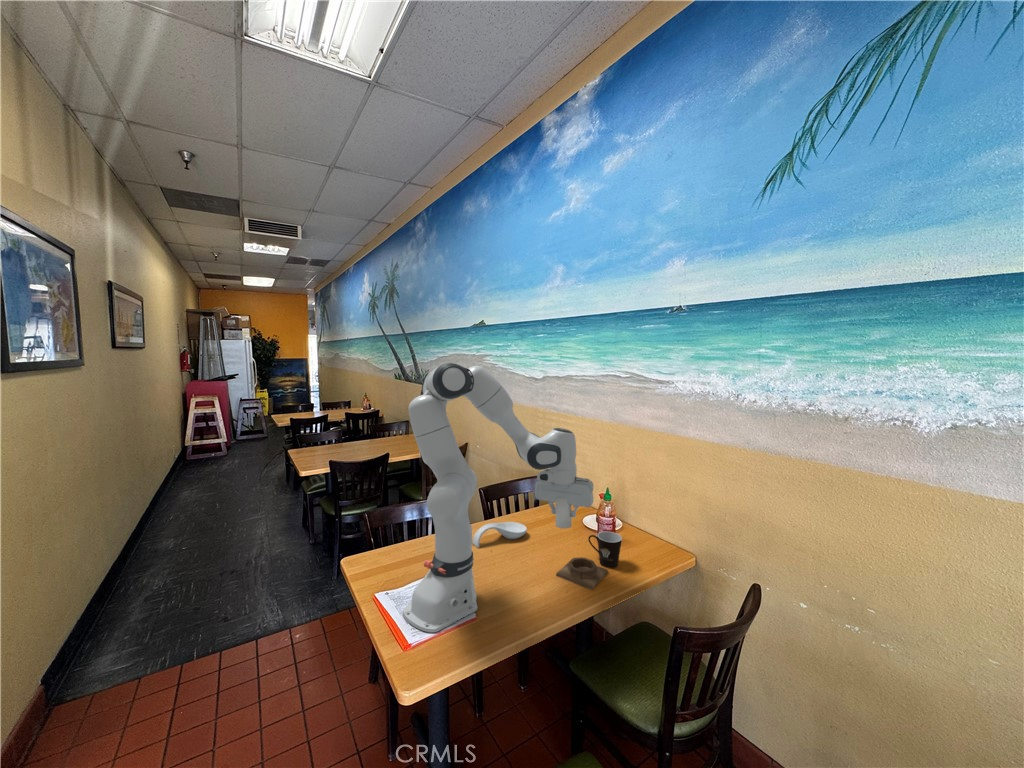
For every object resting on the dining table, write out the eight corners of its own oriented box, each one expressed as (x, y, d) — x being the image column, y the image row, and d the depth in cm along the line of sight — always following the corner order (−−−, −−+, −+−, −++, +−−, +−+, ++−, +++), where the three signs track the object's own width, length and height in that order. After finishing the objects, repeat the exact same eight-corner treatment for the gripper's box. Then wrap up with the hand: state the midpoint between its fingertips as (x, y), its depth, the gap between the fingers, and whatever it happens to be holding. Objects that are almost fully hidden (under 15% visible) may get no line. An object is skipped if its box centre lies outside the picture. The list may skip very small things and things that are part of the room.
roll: (558, 529, 129) (558, 499, 129) (553, 522, 134) (553, 494, 134) (573, 527, 130) (573, 498, 130) (568, 521, 136) (568, 493, 135)
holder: (591, 590, 123) (591, 579, 123) (556, 575, 131) (556, 565, 131) (607, 572, 134) (608, 562, 133) (574, 560, 141) (574, 551, 141)
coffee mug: (626, 566, 138) (627, 539, 137) (608, 572, 134) (609, 544, 133) (603, 551, 148) (604, 526, 147) (586, 557, 144) (586, 531, 143)
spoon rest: (516, 527, 169) (516, 511, 168) (532, 538, 159) (532, 521, 158) (468, 541, 155) (468, 523, 155) (482, 553, 146) (482, 535, 145)
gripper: (595, 476, 129) (595, 516, 130) (539, 469, 139) (540, 507, 140) (590, 482, 124) (590, 524, 125) (532, 474, 133) (533, 513, 134)
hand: (563, 515), depth 132 cm, fingers closed on roll, 5 cm apart
